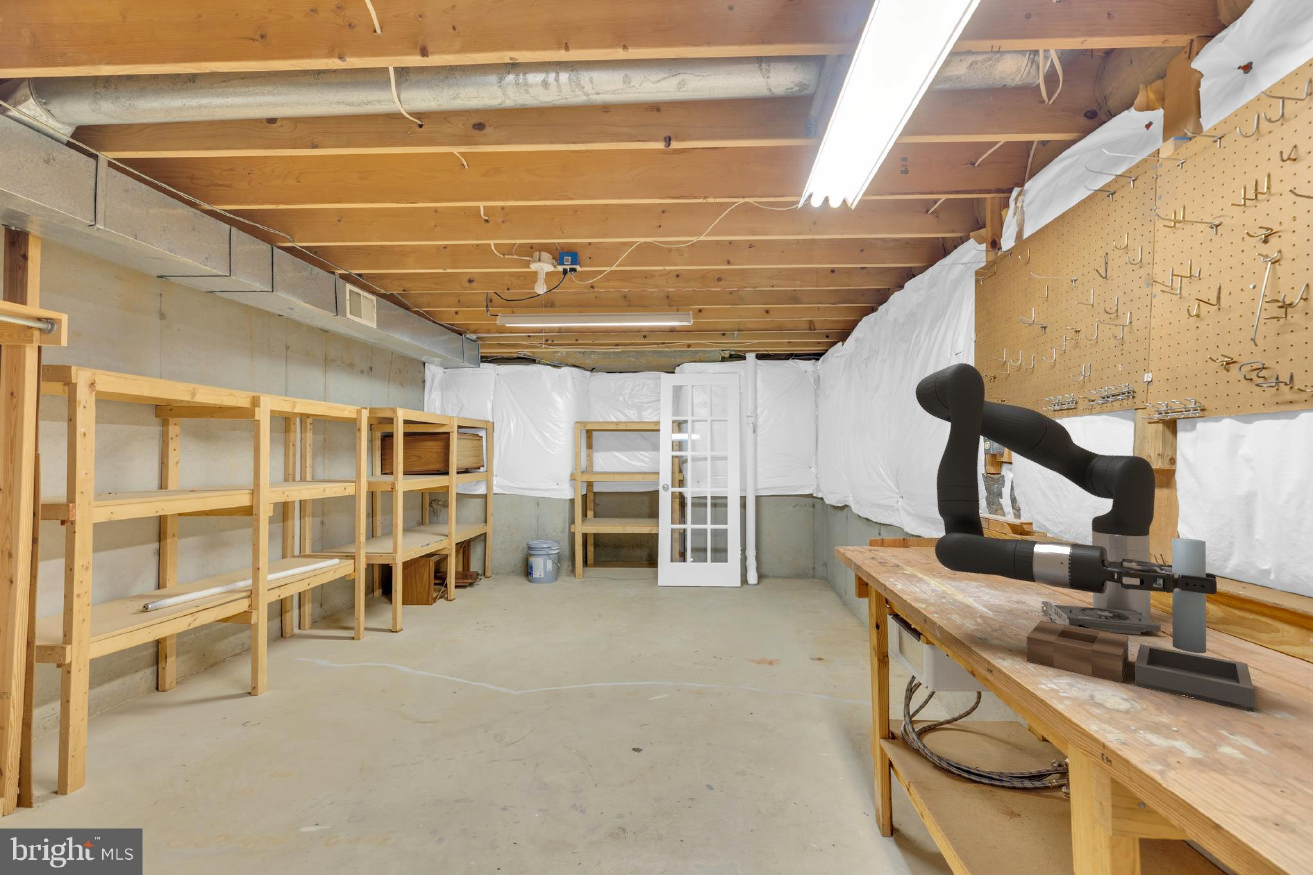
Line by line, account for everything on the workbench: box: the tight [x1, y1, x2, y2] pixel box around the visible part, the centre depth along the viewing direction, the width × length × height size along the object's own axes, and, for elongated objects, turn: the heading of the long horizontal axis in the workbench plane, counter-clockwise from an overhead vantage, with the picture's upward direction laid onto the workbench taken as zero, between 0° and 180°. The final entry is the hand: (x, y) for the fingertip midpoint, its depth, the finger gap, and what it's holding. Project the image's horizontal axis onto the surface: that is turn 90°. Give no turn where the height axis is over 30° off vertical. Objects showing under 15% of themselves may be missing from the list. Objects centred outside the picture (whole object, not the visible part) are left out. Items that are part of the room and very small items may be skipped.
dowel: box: [1171, 537, 1207, 654], centre depth 83 cm, size 4×4×16 cm
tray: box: [1134, 643, 1255, 713], centre depth 83 cm, size 12×12×3 cm
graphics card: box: [1040, 600, 1162, 635], centre depth 109 cm, size 17×4×12 cm
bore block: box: [1026, 619, 1129, 683], centre depth 92 cm, size 12×12×4 cm
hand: (1215, 584), depth 81 cm, fingers closed on dowel, 3 cm apart
